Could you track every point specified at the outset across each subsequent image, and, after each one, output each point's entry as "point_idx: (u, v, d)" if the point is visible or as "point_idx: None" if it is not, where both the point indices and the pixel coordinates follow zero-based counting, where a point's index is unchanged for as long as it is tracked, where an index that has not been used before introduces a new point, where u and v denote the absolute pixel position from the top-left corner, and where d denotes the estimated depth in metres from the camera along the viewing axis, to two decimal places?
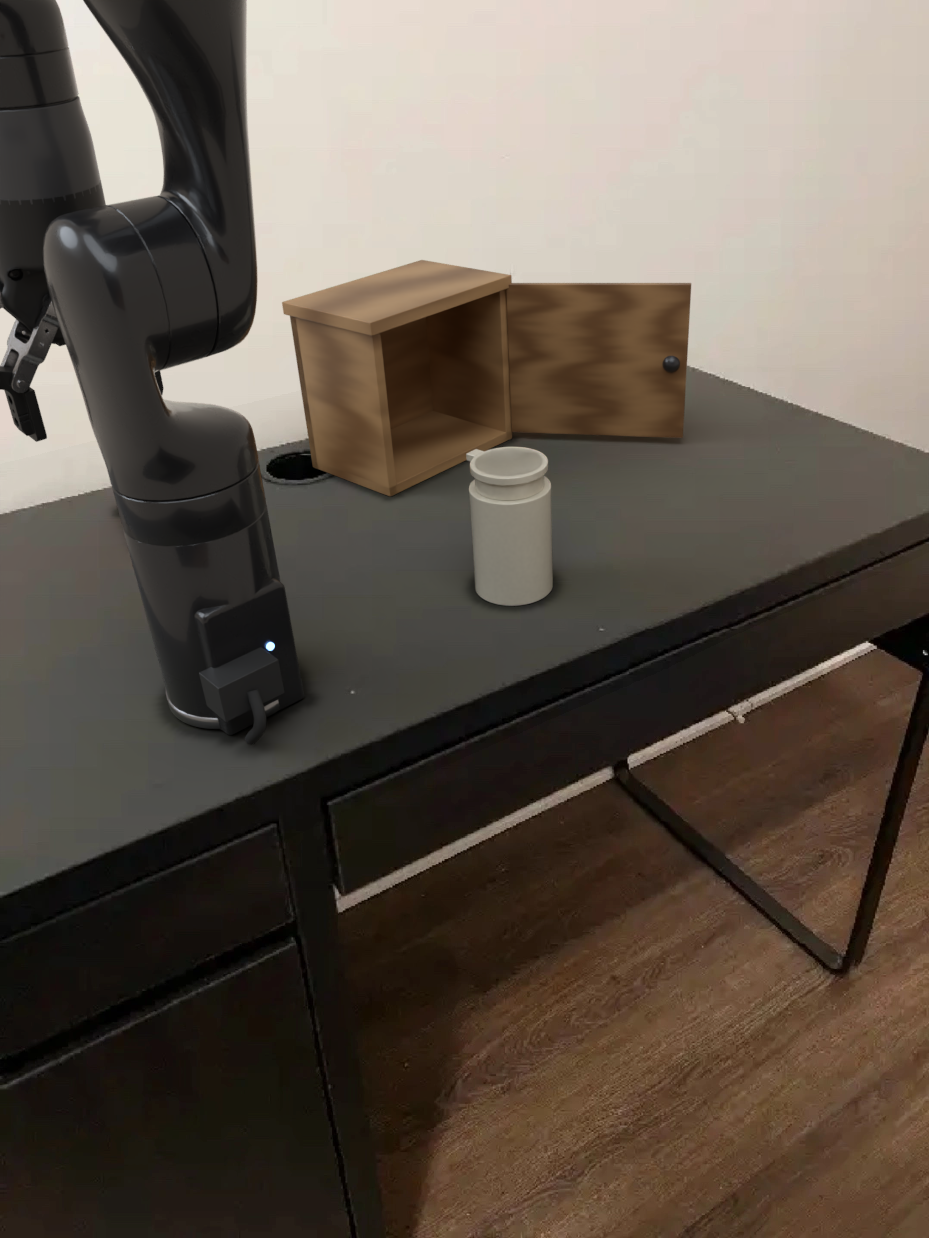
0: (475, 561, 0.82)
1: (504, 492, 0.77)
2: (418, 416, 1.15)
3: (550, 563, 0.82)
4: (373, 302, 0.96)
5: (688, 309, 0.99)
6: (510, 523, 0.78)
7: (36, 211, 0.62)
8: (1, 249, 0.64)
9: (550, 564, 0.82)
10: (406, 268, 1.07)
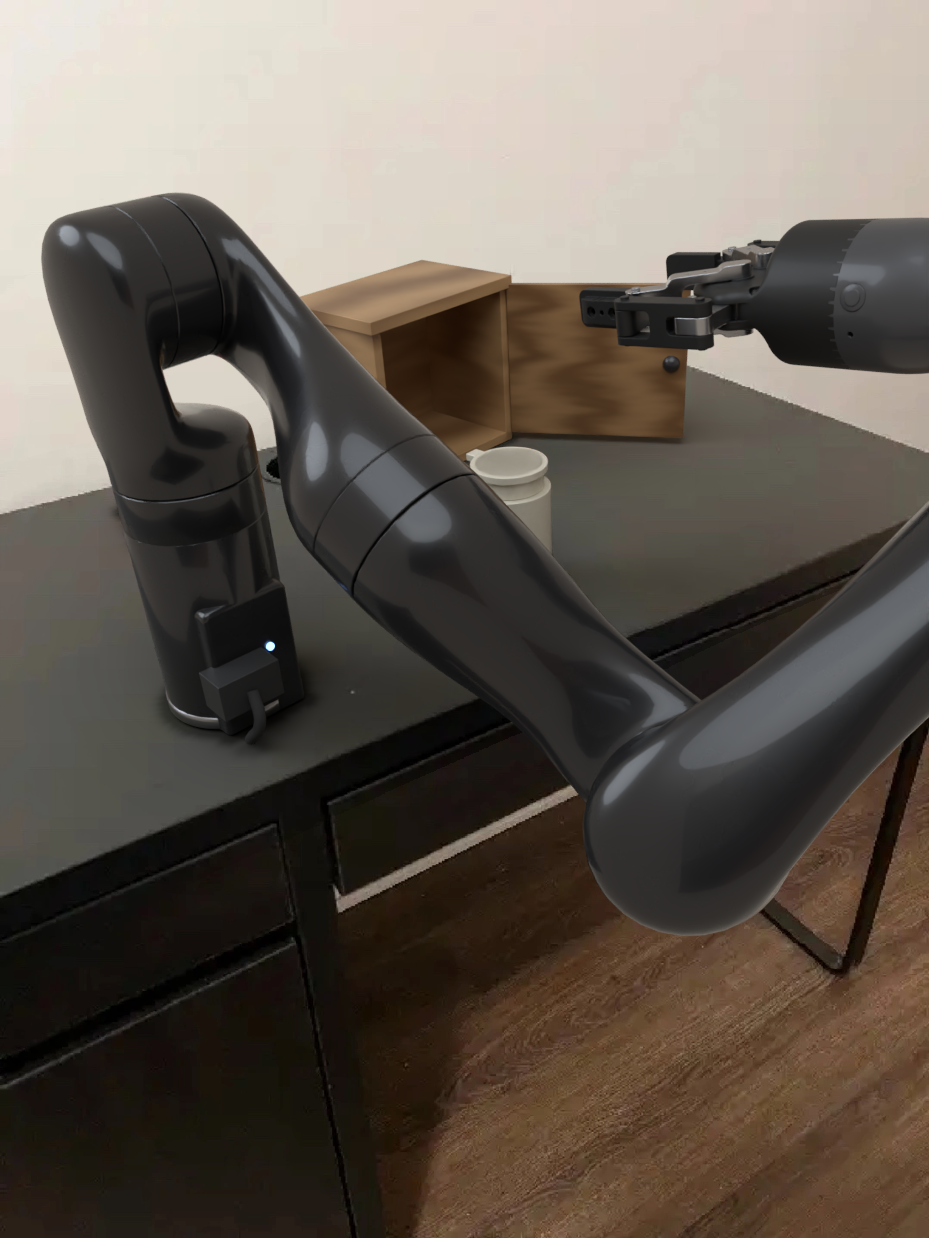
0: None
1: (504, 492, 0.77)
2: (418, 416, 1.15)
3: None
4: (373, 302, 0.96)
5: None
6: None
7: (840, 368, 0.54)
8: (780, 332, 0.54)
9: None
10: (406, 268, 1.07)
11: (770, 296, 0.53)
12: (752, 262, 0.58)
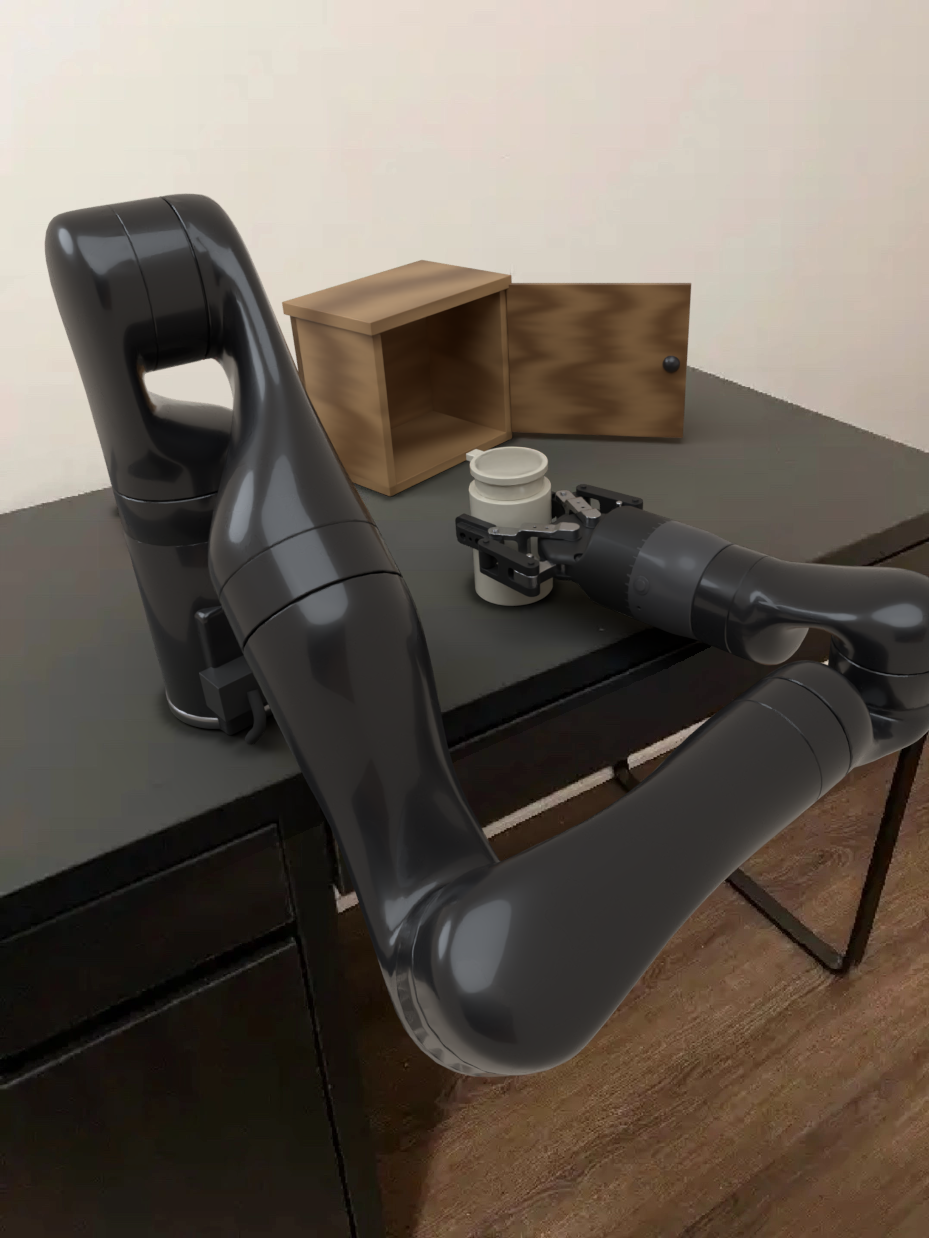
0: (475, 561, 0.82)
1: (504, 492, 0.77)
2: (418, 416, 1.15)
3: None
4: (373, 302, 0.96)
5: (688, 309, 0.99)
6: (510, 523, 0.78)
7: None
8: (593, 591, 0.73)
9: None
10: (406, 268, 1.07)
11: (587, 566, 0.72)
12: (583, 519, 0.77)
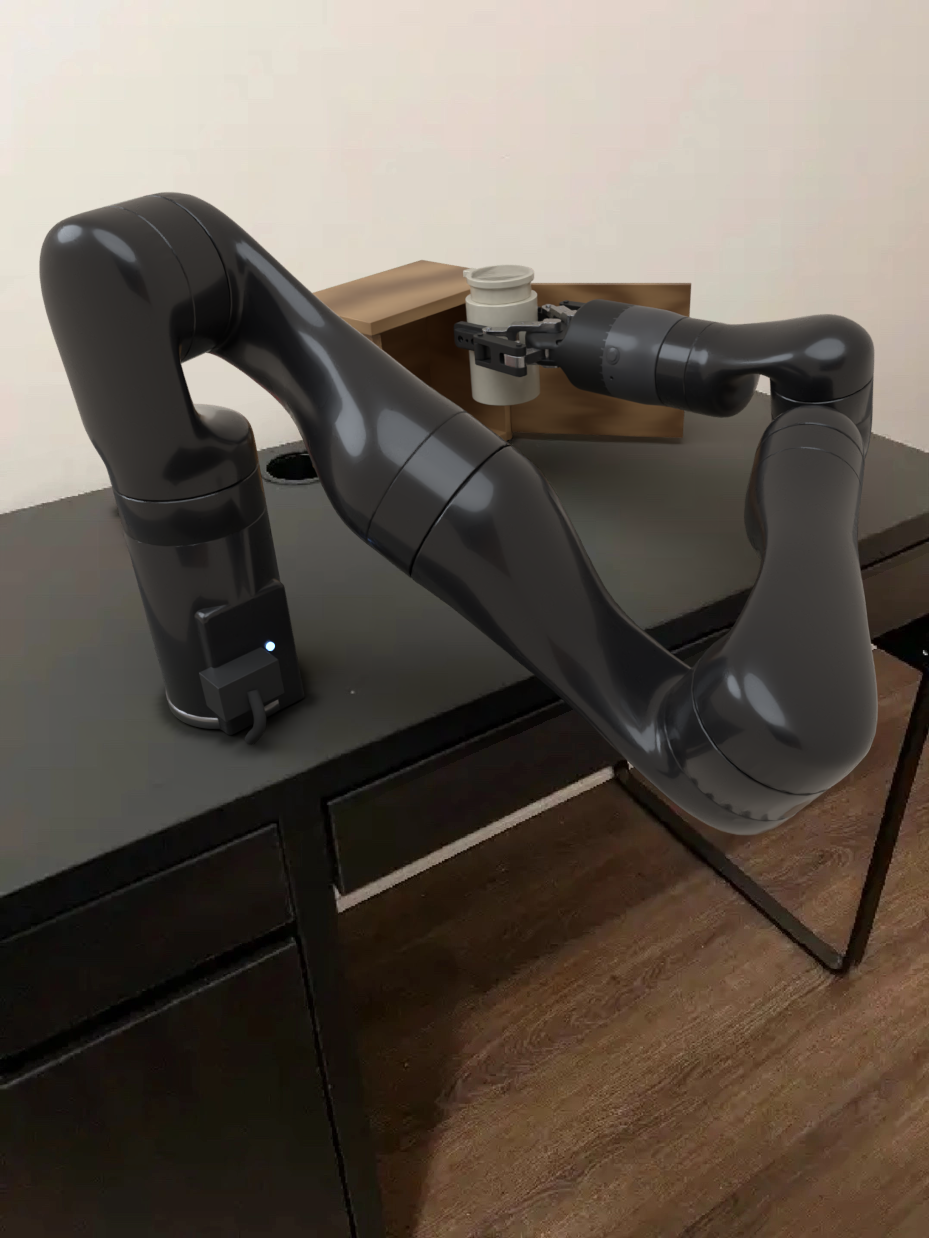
0: (471, 367, 0.94)
1: (496, 296, 0.89)
2: None
3: (537, 368, 0.93)
4: (373, 302, 0.96)
5: (688, 309, 0.99)
6: (501, 325, 0.89)
7: (610, 396, 0.85)
8: (573, 370, 0.84)
9: (537, 369, 0.94)
10: (406, 268, 1.07)
11: (567, 347, 0.84)
12: (564, 319, 0.89)
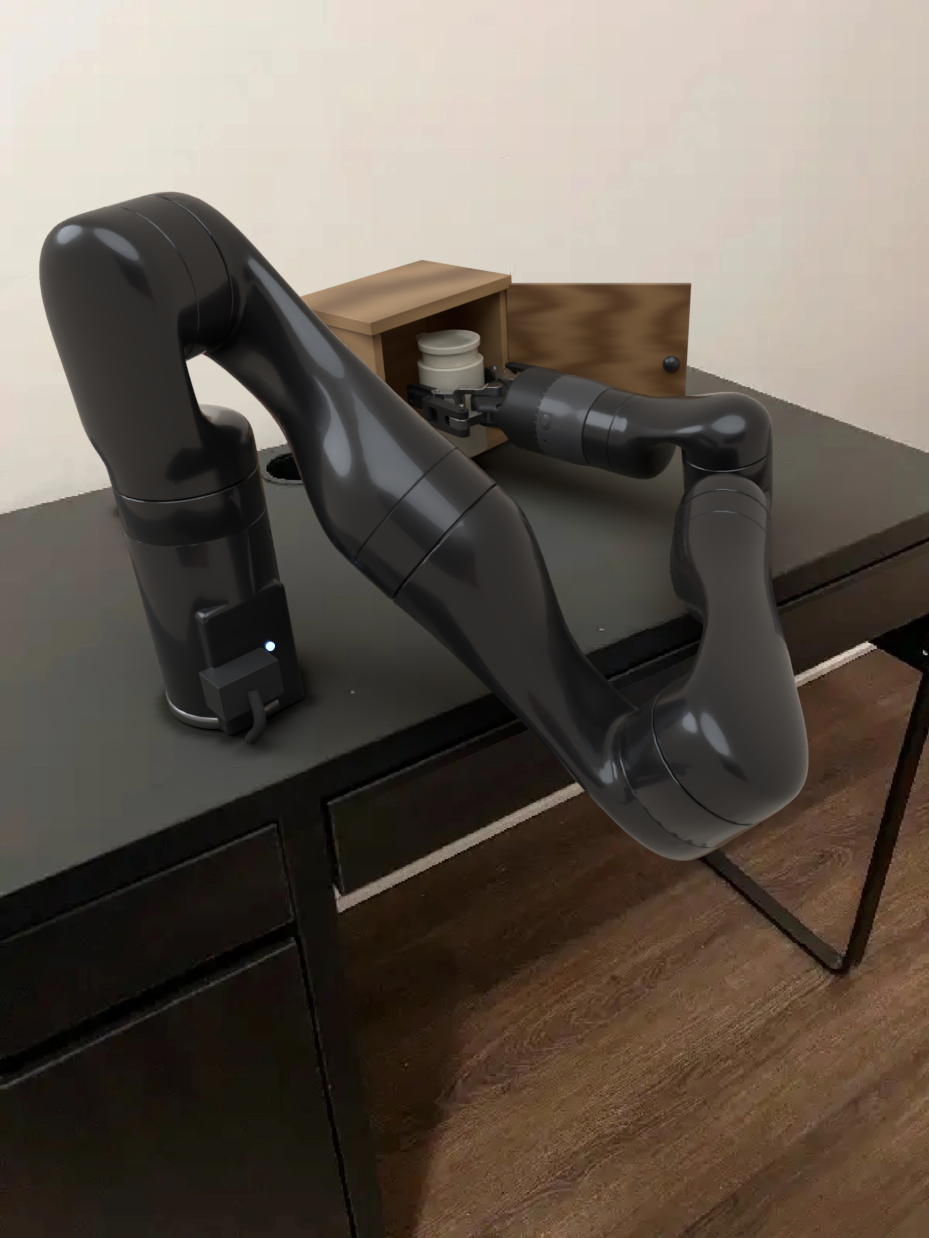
0: None
1: (444, 361, 0.97)
2: None
3: None
4: (373, 302, 0.96)
5: (688, 309, 0.99)
6: (449, 387, 0.97)
7: (546, 455, 0.93)
8: (511, 432, 0.92)
9: None
10: (406, 268, 1.07)
11: (506, 412, 0.92)
12: (507, 382, 0.97)
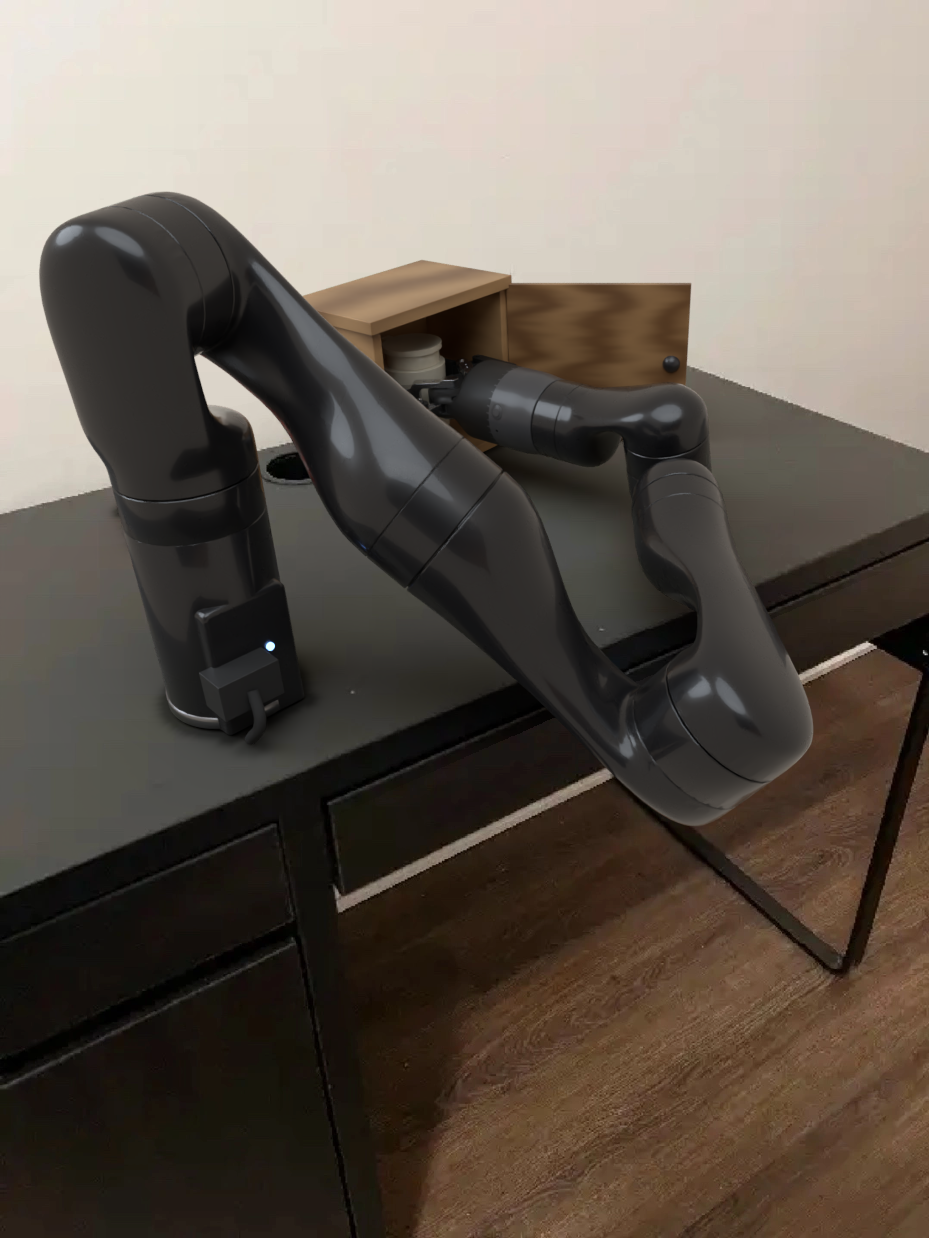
0: None
1: (406, 363, 1.01)
2: None
3: None
4: (373, 302, 0.96)
5: (688, 309, 0.99)
6: None
7: None
8: (466, 423, 0.96)
9: None
10: (406, 268, 1.07)
11: (460, 403, 0.96)
12: (463, 375, 1.01)
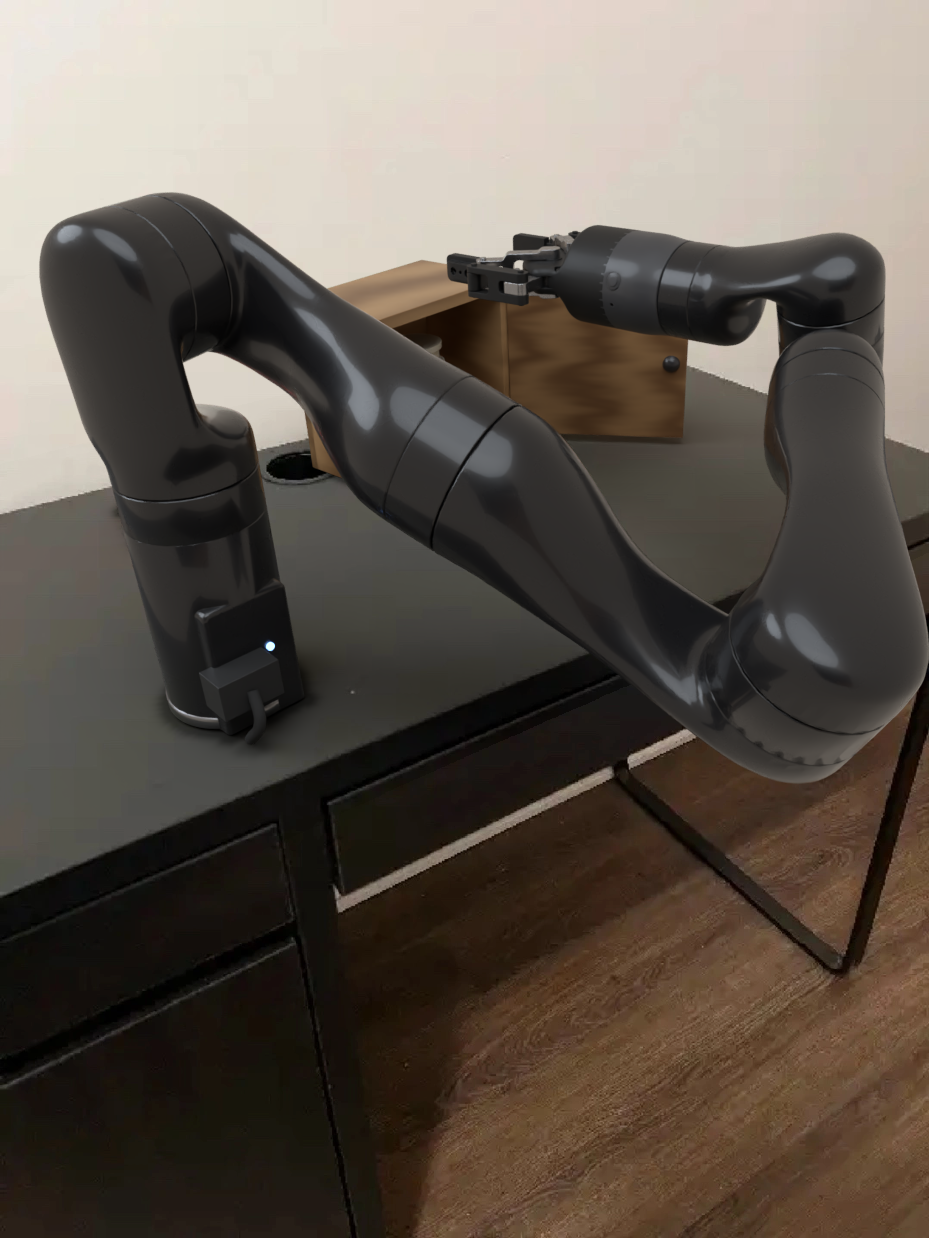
0: None
1: None
2: None
3: None
4: (373, 302, 0.96)
5: None
6: None
7: (609, 326, 0.82)
8: (572, 298, 0.81)
9: None
10: (406, 268, 1.07)
11: (566, 274, 0.81)
12: (564, 248, 0.86)
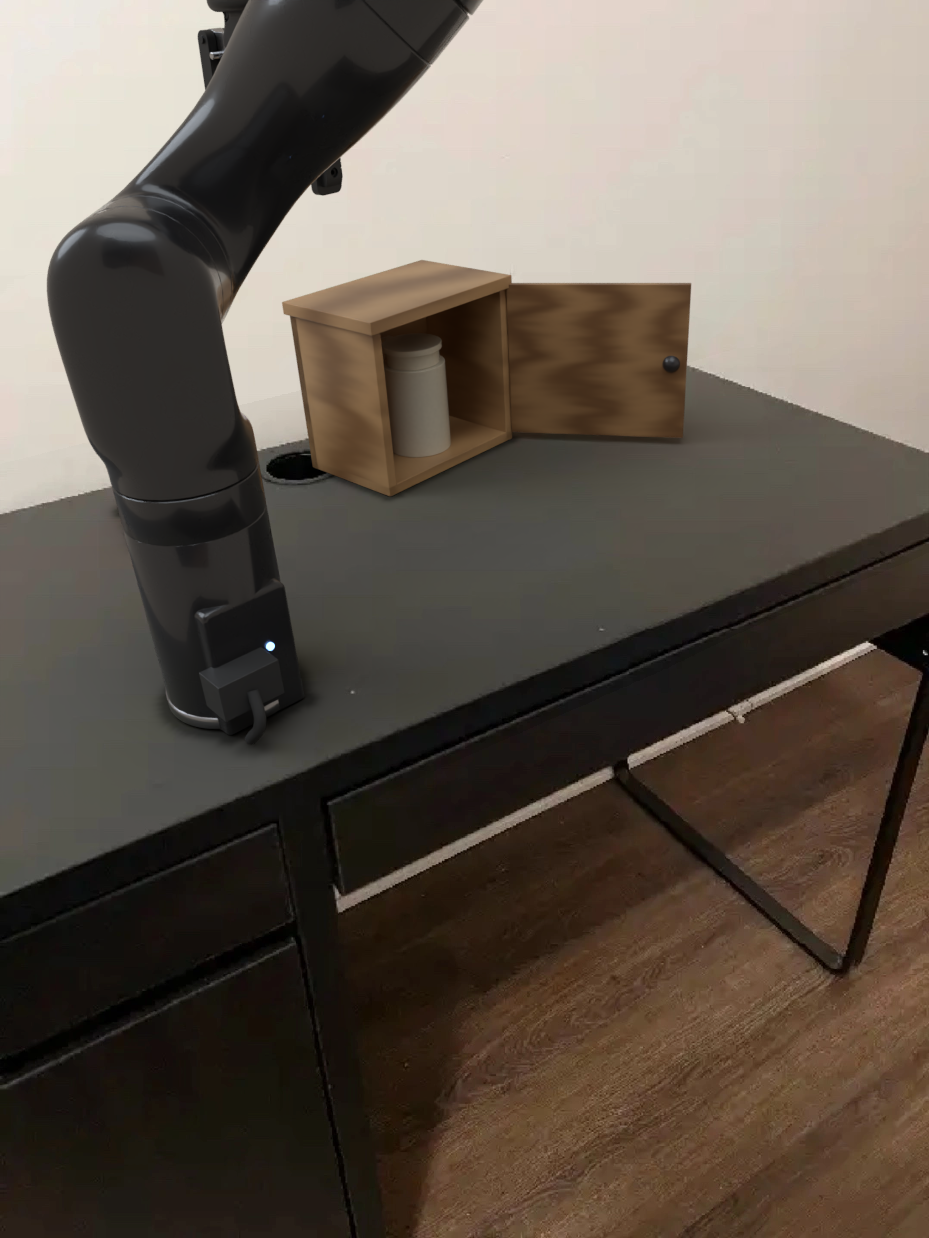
0: None
1: (406, 363, 1.01)
2: None
3: (446, 424, 1.06)
4: (373, 302, 0.96)
5: (688, 309, 0.99)
6: (411, 388, 1.02)
7: None
8: None
9: (447, 425, 1.06)
10: (406, 268, 1.07)
11: None
12: None
